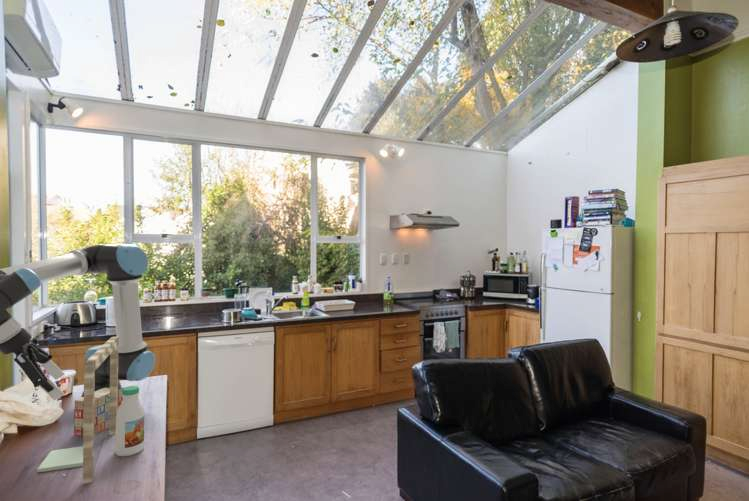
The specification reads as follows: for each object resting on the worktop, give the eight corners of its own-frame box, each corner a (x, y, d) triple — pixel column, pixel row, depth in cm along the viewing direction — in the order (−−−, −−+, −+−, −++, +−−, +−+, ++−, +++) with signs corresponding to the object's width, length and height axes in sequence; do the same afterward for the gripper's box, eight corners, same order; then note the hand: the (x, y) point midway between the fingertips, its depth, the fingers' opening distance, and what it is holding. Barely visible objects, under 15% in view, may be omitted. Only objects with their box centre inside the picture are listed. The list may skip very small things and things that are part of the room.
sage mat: (51, 453, 127) (51, 450, 127) (93, 448, 131) (93, 444, 131) (37, 472, 117) (37, 469, 117) (83, 465, 121) (83, 462, 121)
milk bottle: (113, 459, 125) (114, 393, 124) (117, 447, 132) (118, 385, 131) (142, 454, 128) (143, 390, 127) (145, 443, 135) (146, 382, 134)
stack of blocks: (123, 410, 160) (124, 379, 160) (137, 412, 159) (138, 380, 159) (73, 435, 139) (74, 399, 139) (89, 437, 138) (89, 401, 138)
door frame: (110, 432, 142) (111, 336, 141) (117, 431, 142) (118, 336, 142) (82, 484, 112) (84, 362, 111) (91, 482, 113) (92, 362, 112)
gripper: (-1, 329, 126) (48, 377, 135) (-14, 361, 106) (44, 415, 115) (26, 314, 129) (72, 362, 138) (18, 343, 109) (72, 396, 119)
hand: (59, 386), depth 127 cm, fingers open, 13 cm apart
